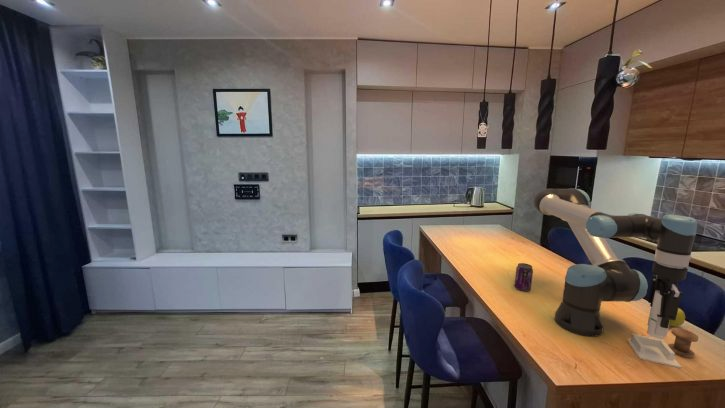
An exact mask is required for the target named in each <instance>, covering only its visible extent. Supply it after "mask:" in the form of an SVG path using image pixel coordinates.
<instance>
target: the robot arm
mask: <svg viewBox="0 0 725 408" xmlns="http://www.w3.org/2000/svg"><path fill="white" fill-rule="evenodd" d="M590 201H591V199H590V196H589V194H588V193H587V192H585V190H582V189H580V188H573V187H572V188H571V187H570V188H545V189H541V190H539V191H538V192H537V193H536V194H534V197H533V199H532V205H533V207H534V209H535V210H536V211H537V212H539V213H541V214H543V215H545V216H546V215H547V216H554V217H556V218H560V219H561V220H562V221H564V222H566V223H568V224H567V225H569V227H570V229H571V231H572V233H573V234H574V236H575V238H576V239H577V241H578V242H579V245H580V246H581V248H582V249H583V251H584V253H585V255H586V256H587V258H588V260H589V262H590V263H591V264H586V263H578V264H573V265H571V266H569V267H567V270H566V274H565V277H564V287H563V292H562V299H561V300H562V301H561V303H559V306H558V307H557V309H556V310H555V312H554V320H555V323H556V324H558V325H559V326H560V327H561V328H562V329H565V330H567V331H568V332H570V333H573V334H577V335H579V336H580V335H581V336H585V337H598V336H602V334H603V331H604V324H603V321H602V316H601V306H602V302H625V303H630V302H637V301H641V300H642V299H644V297H646V295H647V292H648V286H649V285H648V281H647V279H646V277H645V274H644V273H643V272H641V271H639V270H637V269H633V268H630V266H629V265H628V264H627V262H626V261H625V260H623V259H619V258H618V257H617V256H616V254H615V253H614V250H613V249H612V248H611V246H610V245H609V242H608V241H607V240H606V239H608V238H609V239H610V238H613V239H615V238H644V239H647V240H650V241H654V242H657V243H656V248H655V254H654V258H653V260H654V261H653V264H652V268H651V271H652V275H651V283H650V287H649V288H650V289H649V294H648V300H647V302H648V303H649V305H650V311H649V316H648V320H647V325H646V326H648V324H649V319H650V315H651V310H652V305H653V300H654V295H655V290H658V291H660V295H661V296H662V298H661V310H660V315H658V314H657V317H658V318H657V322H656V327H655V332H654V334H655V335H659V336H664V337H665V338H667V337H668V336H667V335H668V331H669V327H670V326H669V323H670V320H676V316H677V312H678V308H679V306H680V303H681V299H682V297H683V295H684V292H683V291H680V290H679V282H680V281H684V280H686V279H687V274H688V267H689V263H690V260H691V259H693V258H692V249H693V245H694V242H695V238H696V235H697V228H698V221H697V219H695V218H694V217H690V216H684V215H679V214H665V215H663V217H662V218H660V217H655V216H651V215H647V214H644V213H637V212H632V213H628V214H627V215H615V214H614V215H613V214H608V213H606V212H605V213H604V212H602V211H599V210H596V209H592V208H591V202H590ZM665 293H667V294H665ZM679 309H680V308H679Z"/></svg>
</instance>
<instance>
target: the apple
mask: <svg viewBox="0 0 725 408" xmlns="http://www.w3.org/2000/svg"><path fill="white" fill-rule="evenodd" d="M685 320H686V315H685V312H684V311H683V310H682V309H681V308H678V312H677V316H676V320H670V323H669V327H679V326H682V325H683V324H684V323H685Z"/></svg>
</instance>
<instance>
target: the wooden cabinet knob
mask: <svg viewBox="0 0 725 408" xmlns="http://www.w3.org/2000/svg"><path fill="white" fill-rule="evenodd" d="M671 334H672V335H673V336H675V338H674V343H672V342H671V343H668V344H667V345H668V346H669V347H670V348H671V350H672V351H673V352H674V353H675V355H677V356H679V357H682V358H685V359H693V358H694V357H695V352H694V351H693V350H692V349H691V346H692V342H693V343H695V342H698V340H699V336H698V335H697V334H696V333H694V332H692V331H689V330H688V329H684V328H679V327H672V328H671Z"/></svg>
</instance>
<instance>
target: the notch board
mask: <svg viewBox="0 0 725 408" xmlns="http://www.w3.org/2000/svg"><path fill="white" fill-rule="evenodd" d="M627 342H628V344H629V345H630V347H631V348H632V350H633V351H634V353H635V354H636V355H637V357H638V359H639V360H644V361H647V362H651V363H656V364H657V363H658V364H660V365H661V364H662V365H665V366H669V367H674V368H678V369H682V366H681V365H680V363H679V362H678V361H677V360H676V359H675V355H676V354H675V353H674V352H673V351H672V350H671V348H670V347H669V346H668V345H669V344H667V343H666V341H665V340H664V339H659V338H655V337H652V336H651V337H650V336H645V335H641V334H637V333H631V336H630V339H629V338H627Z"/></svg>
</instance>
